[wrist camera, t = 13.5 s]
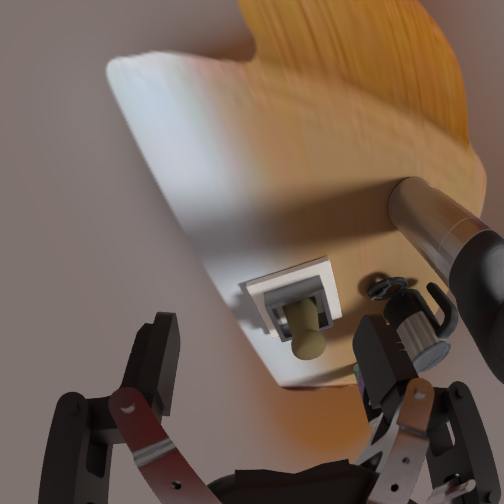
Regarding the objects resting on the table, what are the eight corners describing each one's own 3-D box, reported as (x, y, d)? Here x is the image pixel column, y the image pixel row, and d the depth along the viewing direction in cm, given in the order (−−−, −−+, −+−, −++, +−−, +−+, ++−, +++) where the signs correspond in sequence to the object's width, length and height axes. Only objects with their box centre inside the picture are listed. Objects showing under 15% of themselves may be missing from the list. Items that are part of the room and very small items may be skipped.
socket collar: (319, 274, 44) (324, 288, 41) (329, 312, 48) (334, 326, 46) (263, 292, 45) (264, 307, 42) (280, 328, 50) (282, 342, 47)
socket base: (327, 255, 43) (329, 259, 42) (340, 312, 50) (342, 316, 49) (246, 282, 45) (246, 286, 44) (272, 333, 53) (272, 337, 52)
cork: (307, 318, 49) (318, 367, 40) (276, 312, 48) (283, 363, 39) (321, 294, 46) (337, 343, 37) (290, 287, 45) (300, 338, 35)
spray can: (356, 360, 60) (378, 430, 43) (375, 357, 60) (399, 425, 43) (350, 372, 63) (368, 439, 46) (368, 369, 63) (388, 434, 46)
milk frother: (409, 320, 53) (435, 370, 41) (350, 323, 52) (371, 383, 40) (435, 269, 46) (473, 319, 33) (373, 266, 45) (409, 327, 32)
